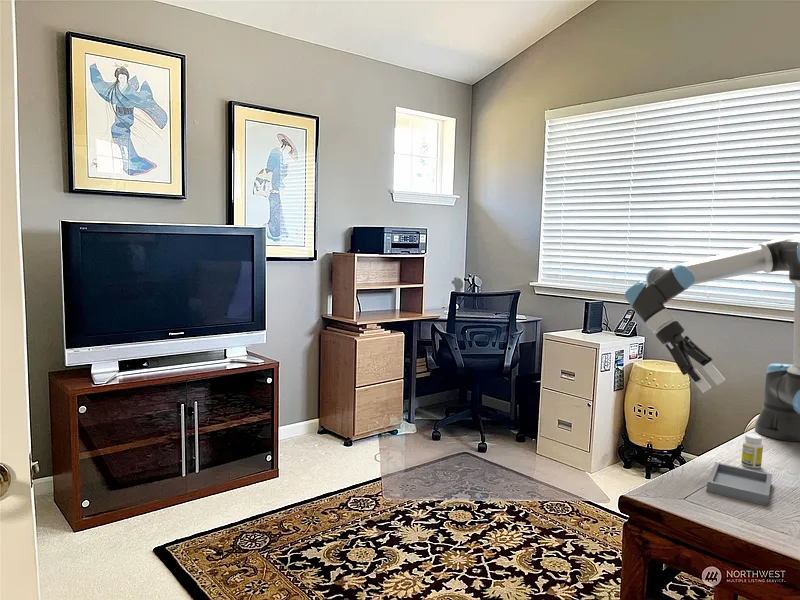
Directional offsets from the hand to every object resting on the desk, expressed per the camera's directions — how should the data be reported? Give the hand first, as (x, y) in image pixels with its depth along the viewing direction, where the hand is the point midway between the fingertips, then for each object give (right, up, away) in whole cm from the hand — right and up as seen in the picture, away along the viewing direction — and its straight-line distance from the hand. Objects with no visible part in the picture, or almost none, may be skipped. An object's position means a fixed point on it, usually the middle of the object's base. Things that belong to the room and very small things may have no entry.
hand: (714, 386), depth 170 cm
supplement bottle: (+7, -21, -5) cm, 23 cm away
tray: (-4, -23, -20) cm, 30 cm away
